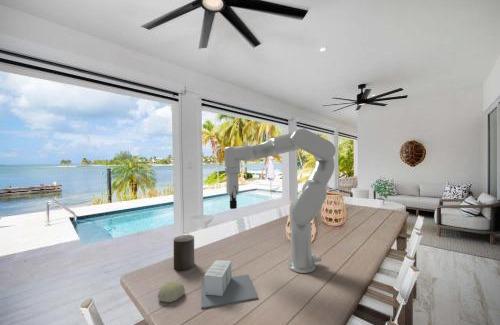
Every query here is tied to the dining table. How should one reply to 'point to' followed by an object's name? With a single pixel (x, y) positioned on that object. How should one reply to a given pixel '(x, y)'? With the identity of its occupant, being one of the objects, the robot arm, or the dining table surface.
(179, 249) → the pillar candle
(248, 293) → the charcoal mat
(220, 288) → the supplement box
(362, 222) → the dining table surface
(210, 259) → the dining table surface
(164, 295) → the sea urchin shell
